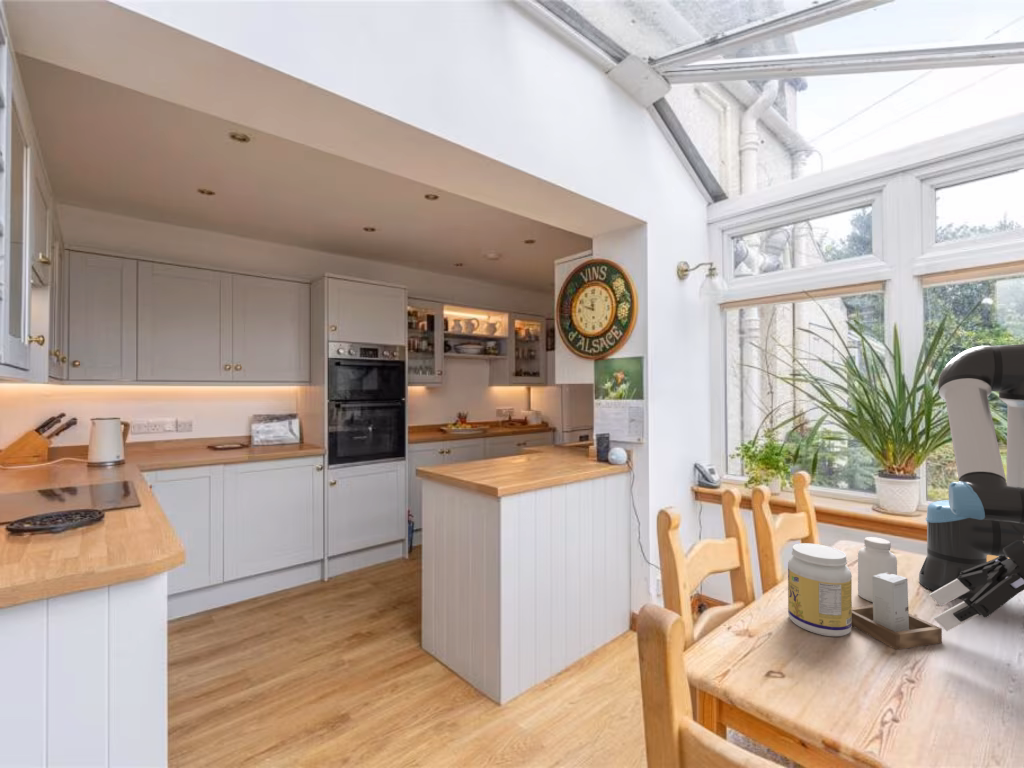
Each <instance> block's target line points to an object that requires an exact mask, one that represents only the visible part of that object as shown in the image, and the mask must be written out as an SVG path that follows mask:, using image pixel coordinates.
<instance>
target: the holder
mask: <svg viewBox="0 0 1024 768" xmlns="http://www.w3.org/2000/svg"><path fill="white" fill-rule="evenodd" d="M852 627H853V628H855V629H857V630H859V631H861V632H863V633H864V634H866V635H868V636H870V637H872V638H873V639H876V640H878V641H880V642H882V643H883V644H885V645H886V646H888V647H891V648H893V649H894V650H897V651H898V650H903V649H909V648H915V647H923V646H930V645H935V644H937V645H938V644H942V643H943V634H942V633H943V632H942V630H943V629H942V628H943V627H942V628H941V627H939V626H937V625H934V624H932V623H930V622H928V621H926V620H924V619H922V618H920V617H917V616H915V615H912V614H910V613H909V630H906V631H899V632H894V631H892V630H890V629H888V628H886V627H884V626H882V625H880V624H878V623H876V622H874V621H873V604H870V605H862V606H855V607H854V606H852Z"/></svg>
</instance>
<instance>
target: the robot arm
mask: <svg viewBox="0 0 1024 768" xmlns="http://www.w3.org/2000/svg"><path fill="white" fill-rule="evenodd" d="M937 382H938V383H937V384H938V385H937V389H938V394H939V397H940V398H941V399H942V400H943V401H945V403H946V404H945V405H946V411H947V417H948V423H949V428H950V434H951V435H950V436H951V443H952V448H953V453H954V459H955V464H956V465H955V466H956V470H957V471H956V472H957V479H958V481H952V482H950V484H949V486H948V493H947V494H948V499H946V500H945V499H944V500H937V501H932V502H931V503H930V504H928V505H927V509H926V517H925V520H926V551H927V552H926V556H925V559H924V561H923V564H922V565H921V569H920V570H919V573H918V583H919V584H920V585H921V586H923V587H925V588H926V589H927V590H930V591H932V592H931V593H929V597H930V598H932V599H933V600H934V601H935V602H936V604H938V605H939V606H940V607H943V606H944V605H947V604H948V603H950V602H951V601H953V600H955V599H960V600H961V599H962V601H961V602H959V603H957V604H955V605H954V606H952V607H950V608H949V609H946V610H944V611H942V612H941V613H939V614H937V615H935V616H934V617H933V620H934V621H936V623H938V624H939V625H940V626H941V627H942V628H943V629H944V630H945V632H948V631H950V630H952V629H955V628H956V627H958V626H960V625H962V624H964V623H965V622H968V621H970V620H972V619H973V618H976V617H978V616H982V617H983V618H988V617H990V616H991V615H992V614H993V613H994V612H996V611H997V610H998V609H999V608H1001V607H1003V606H1004V605H1006V604H1007V602H1010V600H1012V598H1014V597H1015V596H1016V595H1018V594H1019V593H1021V592H1023V591H1024V344H1004V345H1000V344H999V345H979V346H974V347H971V348H968V349H965V350H963V351H962V352H960V353H958V354H957V355H956V356H954V357H953V358H951V359H950V361H948V362H947V363H946V365H945V366H944V367H943V369H942V370H941V373H940V374H939V377H938V381H937ZM992 392H995V393H996V392H998V399H999V400H1000V401H1002V402H1003V403H1004V404H1005V405H1006V406H1007V413H1006V414H1007V420H1006V421H1007V423H1006V426H1007V428H1006V429H1007V430H1006V431H1007V432H1006V475H1005V468H1004V466H1003V465H1004V464H1003V461H1002V454H1001V452H1000V447H999V443H998V438H997V434H996V430H995V424H994V421H993V420H994V419H993V417H992V412H991V408H990V404H989V402H990V401H989V399H988V397H990V395H991V394H992ZM987 556H995V558H993V559H991V560H988V561H987V559H988V557H987Z"/></svg>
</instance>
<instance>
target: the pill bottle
mask: <svg viewBox="0 0 1024 768" xmlns="http://www.w3.org/2000/svg"><path fill="white" fill-rule="evenodd" d="M863 543H864V545H863V546H864V547H861V548H859V550H858V552H857V592H858V593H857V595H859V597H860V598H861V599H864V600H866V601H868V602H871V603H873V585H872V577H873V576H875V575H878V574H882V573H887V572H888V573H891V574H895V575H898V559H897V556H896V554H894V553H893V552H892V551H891V549H892V548H891V547H892V545H891V542H890V540H888V539H885V538H881V537H876V536H866V537H864V541H863Z"/></svg>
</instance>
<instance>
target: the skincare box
mask: <svg viewBox="0 0 1024 768" xmlns="http://www.w3.org/2000/svg"><path fill="white" fill-rule="evenodd" d="M908 583H909V582H908V578H907V577H905V576H901V575H898V574H897V575H895V574H891V573H888V572H887V573H882V574H878V575H875V576H873V577H872V585H873V602H872V605H873V620H872V621H874V622H876V623H878V624H880V625H882V626H884V627H886V628H888V629H890V630H892V631H894V632H899V631H906V630H909V614H910V613H909V610H910V609H909V588H908V587H909V585H908Z"/></svg>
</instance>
